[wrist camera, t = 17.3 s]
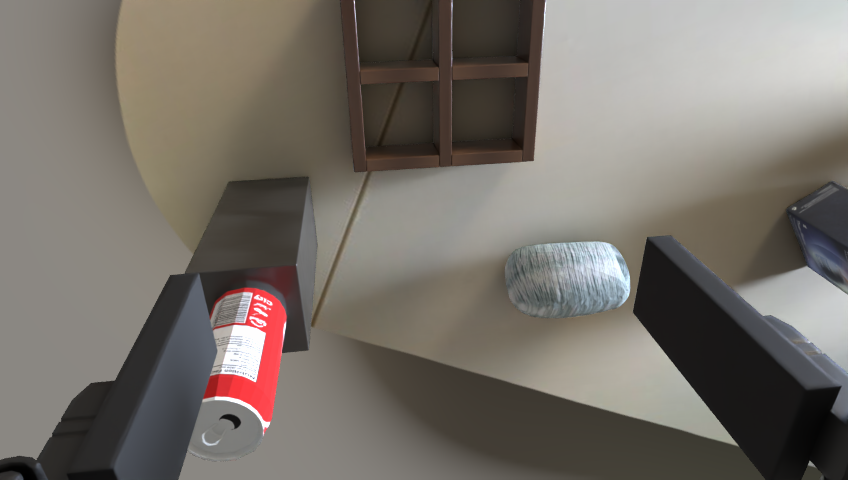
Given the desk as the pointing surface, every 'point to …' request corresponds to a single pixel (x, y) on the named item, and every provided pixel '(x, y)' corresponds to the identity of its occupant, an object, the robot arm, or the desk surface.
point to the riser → (263, 249)
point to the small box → (824, 232)
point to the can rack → (448, 93)
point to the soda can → (240, 375)
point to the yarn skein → (567, 279)
